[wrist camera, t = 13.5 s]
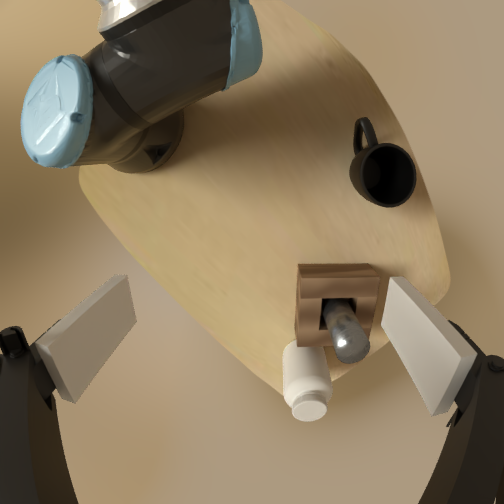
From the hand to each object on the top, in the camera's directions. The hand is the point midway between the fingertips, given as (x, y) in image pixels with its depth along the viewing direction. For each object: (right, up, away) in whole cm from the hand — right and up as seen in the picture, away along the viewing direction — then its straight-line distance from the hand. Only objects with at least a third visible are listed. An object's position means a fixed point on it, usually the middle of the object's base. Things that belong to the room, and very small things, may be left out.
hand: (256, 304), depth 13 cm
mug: (+17, +16, +26) cm, 35 cm away
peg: (+13, -6, +31) cm, 35 cm away
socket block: (+13, -5, +33) cm, 36 cm away
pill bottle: (+9, -17, +37) cm, 42 cm away
